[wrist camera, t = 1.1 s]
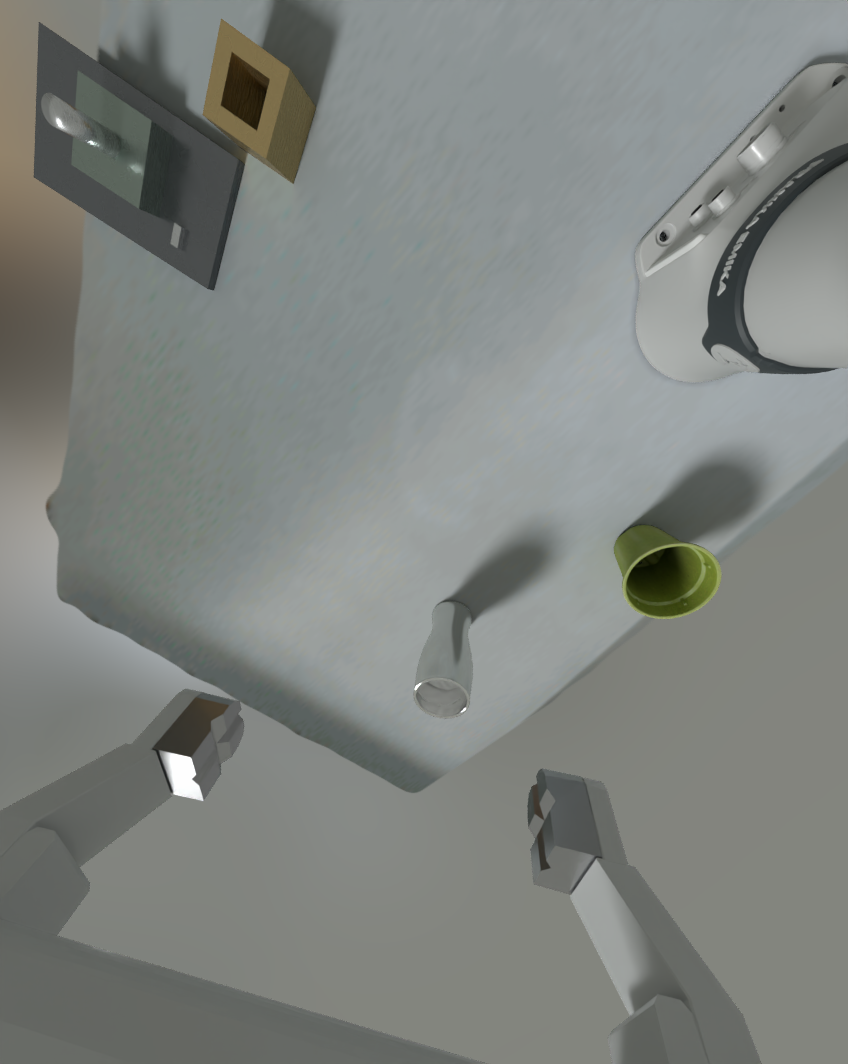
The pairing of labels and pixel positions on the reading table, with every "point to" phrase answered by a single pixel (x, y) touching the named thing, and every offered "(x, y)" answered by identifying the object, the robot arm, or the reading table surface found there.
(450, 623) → the beer glass
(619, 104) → the reading table surface
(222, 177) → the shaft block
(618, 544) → the plant pot
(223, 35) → the tan square sleeve
